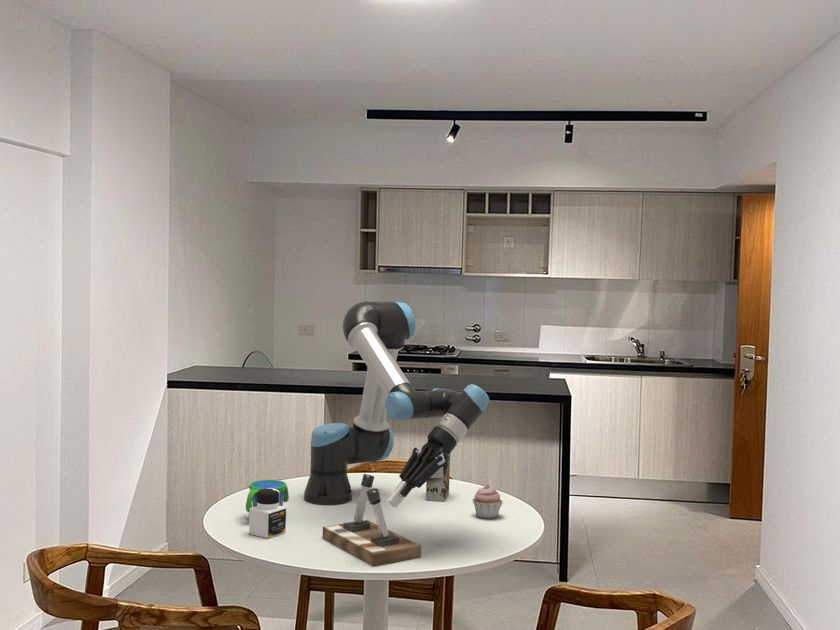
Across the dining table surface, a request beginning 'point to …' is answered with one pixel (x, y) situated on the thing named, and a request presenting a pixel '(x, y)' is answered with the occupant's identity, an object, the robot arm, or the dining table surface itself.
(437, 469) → the robot arm
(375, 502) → the lever
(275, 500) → the medicine bottle
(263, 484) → the snack cup
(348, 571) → the dining table surface
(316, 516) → the dining table surface
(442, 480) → the coffee box
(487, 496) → the cupcake
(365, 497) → the lever
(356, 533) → the switch unit
